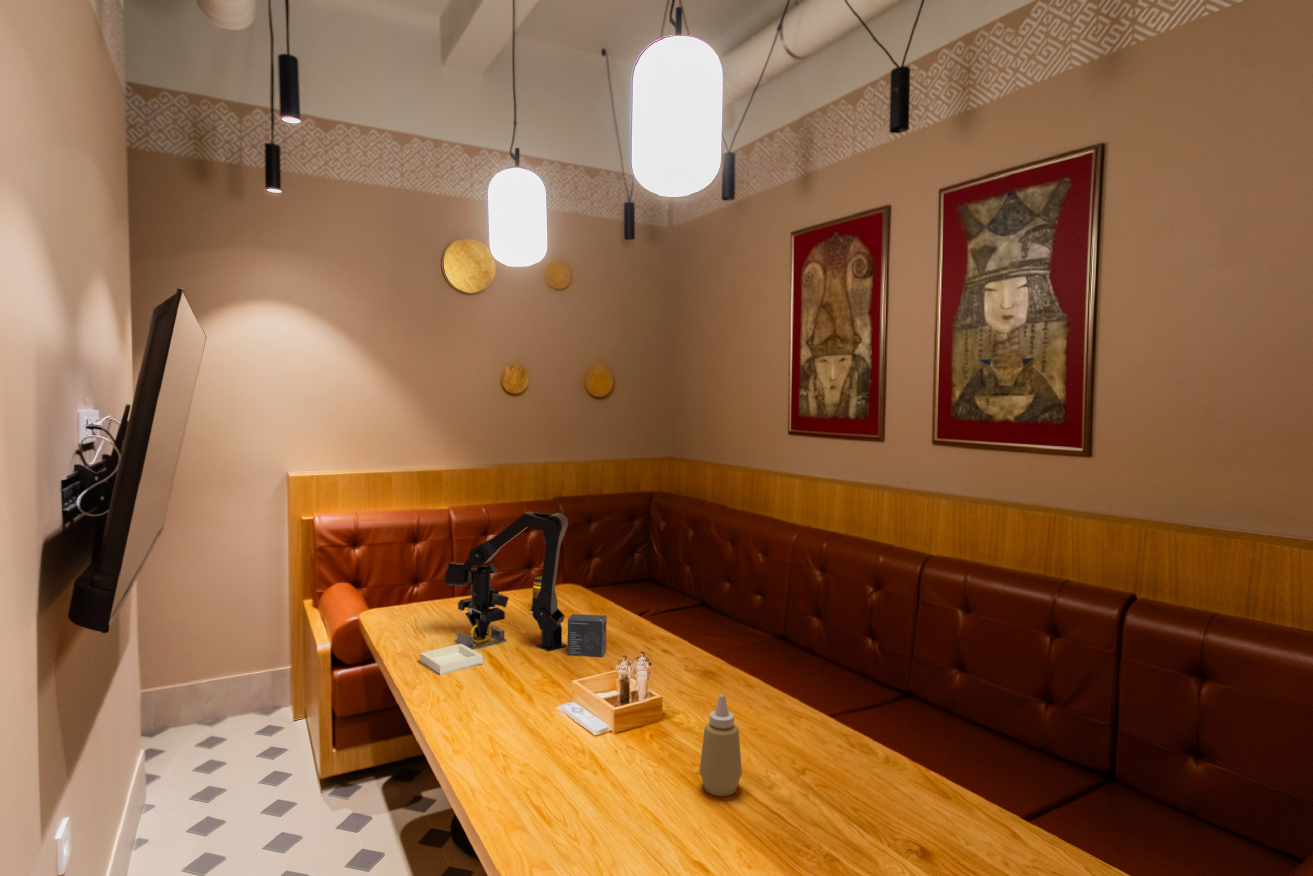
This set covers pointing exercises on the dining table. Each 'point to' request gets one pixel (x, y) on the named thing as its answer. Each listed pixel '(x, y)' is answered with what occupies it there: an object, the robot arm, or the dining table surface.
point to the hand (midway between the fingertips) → (480, 637)
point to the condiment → (536, 586)
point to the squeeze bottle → (721, 752)
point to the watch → (480, 640)
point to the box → (587, 635)
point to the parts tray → (450, 659)
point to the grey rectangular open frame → (468, 640)
